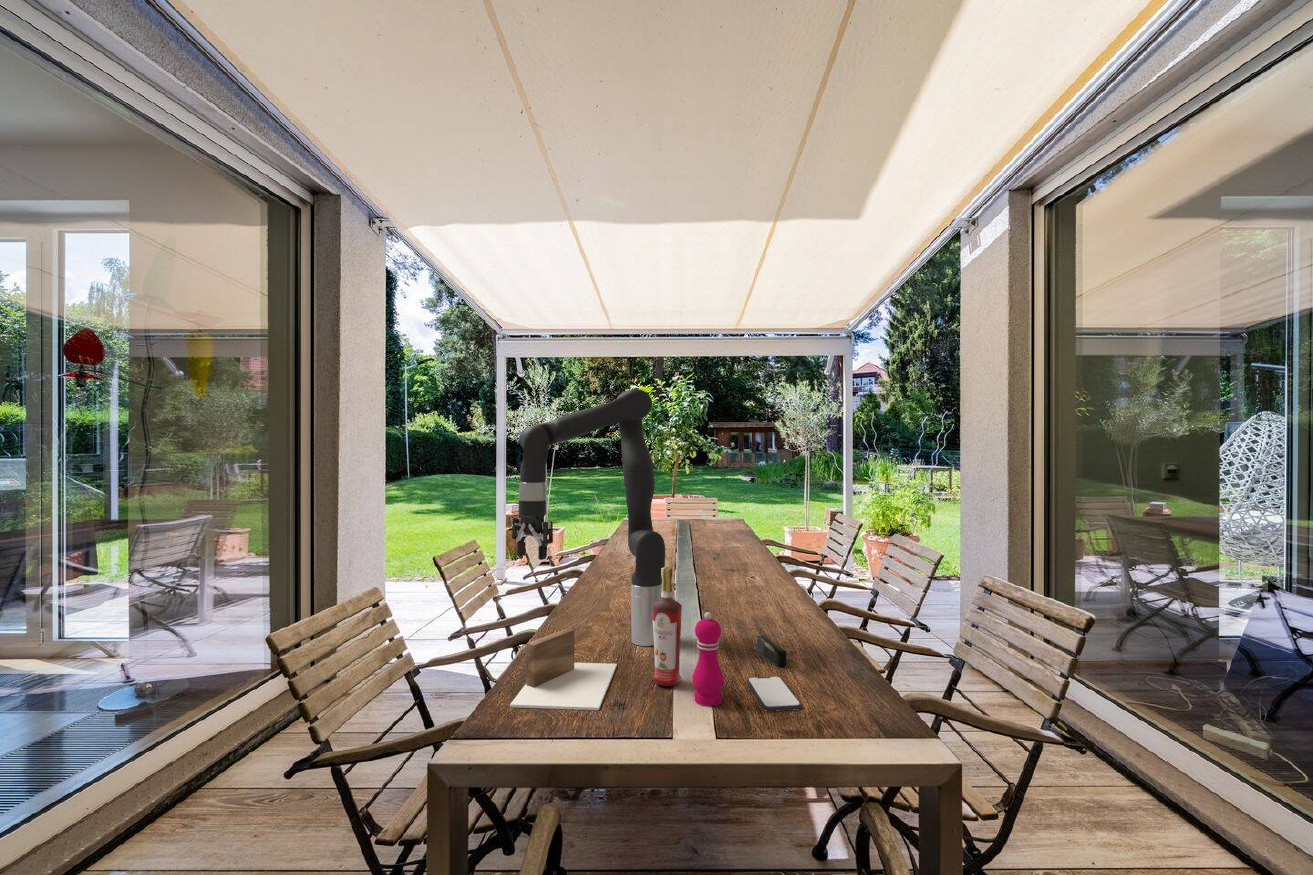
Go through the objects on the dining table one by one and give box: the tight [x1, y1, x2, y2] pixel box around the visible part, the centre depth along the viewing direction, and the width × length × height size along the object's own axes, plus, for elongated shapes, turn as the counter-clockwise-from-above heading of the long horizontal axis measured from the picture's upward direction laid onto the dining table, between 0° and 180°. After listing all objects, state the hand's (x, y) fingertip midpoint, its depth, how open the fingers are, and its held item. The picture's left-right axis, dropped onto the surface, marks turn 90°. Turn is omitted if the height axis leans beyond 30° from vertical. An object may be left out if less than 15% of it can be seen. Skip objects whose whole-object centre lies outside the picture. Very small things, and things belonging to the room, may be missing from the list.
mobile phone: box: [753, 635, 787, 668], centre depth 158 cm, size 5×3×15 cm
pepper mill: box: [692, 611, 725, 707], centre depth 132 cm, size 7×7×20 cm
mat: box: [509, 662, 618, 711], centre depth 140 cm, size 20×26×1 cm
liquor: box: [652, 566, 683, 687], centre depth 142 cm, size 7×7×28 cm
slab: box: [525, 628, 575, 688], centre depth 144 cm, size 3×14×10 cm, turn 145°
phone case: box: [746, 675, 802, 712], centre depth 134 cm, size 9×2×16 cm
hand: (531, 557), depth 159 cm, fingers open, 8 cm apart
